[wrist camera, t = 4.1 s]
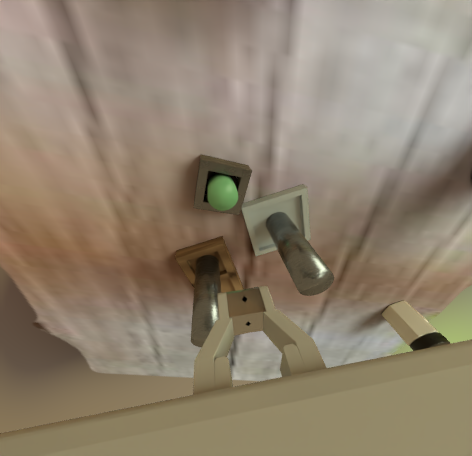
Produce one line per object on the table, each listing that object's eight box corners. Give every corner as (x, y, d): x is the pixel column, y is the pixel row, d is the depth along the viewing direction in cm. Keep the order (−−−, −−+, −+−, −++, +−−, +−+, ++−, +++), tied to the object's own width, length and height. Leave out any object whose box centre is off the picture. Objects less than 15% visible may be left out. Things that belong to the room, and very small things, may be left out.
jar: (412, 305, 59) (455, 346, 49) (389, 319, 61) (425, 360, 51) (401, 297, 55) (445, 339, 45) (377, 312, 58) (413, 354, 48)
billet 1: (197, 253, 34) (193, 329, 22) (220, 256, 35) (228, 329, 23) (194, 270, 36) (189, 347, 24) (216, 272, 37) (221, 347, 26)
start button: (209, 170, 26) (210, 179, 23) (237, 176, 27) (241, 185, 24) (205, 196, 28) (205, 208, 25) (231, 201, 29) (234, 212, 26)
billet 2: (270, 210, 32) (307, 268, 20) (292, 214, 33) (340, 271, 21) (262, 231, 34) (291, 294, 22) (283, 234, 35) (322, 296, 23)
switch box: (201, 154, 26) (200, 159, 24) (247, 165, 28) (252, 170, 25) (194, 199, 30) (193, 207, 27) (236, 206, 31) (239, 215, 29)
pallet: (176, 250, 34) (175, 258, 33) (222, 236, 34) (223, 243, 32) (207, 299, 43) (207, 308, 41) (243, 288, 43) (245, 296, 41)
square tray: (240, 204, 31) (241, 208, 30) (303, 184, 31) (307, 187, 29) (254, 251, 37) (255, 256, 36) (307, 235, 37) (310, 239, 36)
